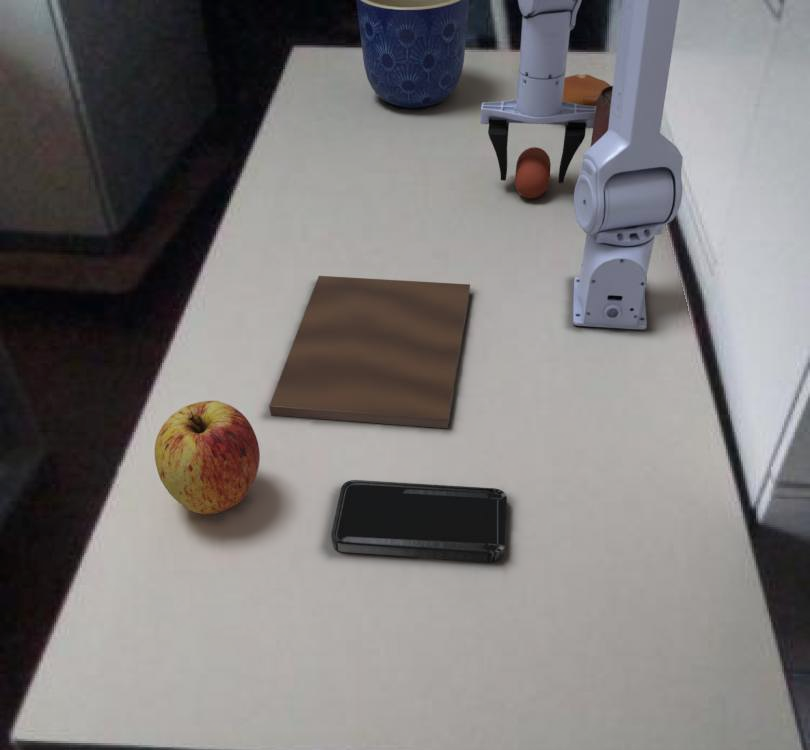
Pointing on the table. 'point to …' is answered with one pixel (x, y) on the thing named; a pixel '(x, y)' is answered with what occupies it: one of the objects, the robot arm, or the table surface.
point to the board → (375, 352)
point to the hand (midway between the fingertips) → (532, 178)
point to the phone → (420, 520)
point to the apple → (207, 456)
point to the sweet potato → (532, 172)
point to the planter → (413, 48)
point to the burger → (583, 89)
